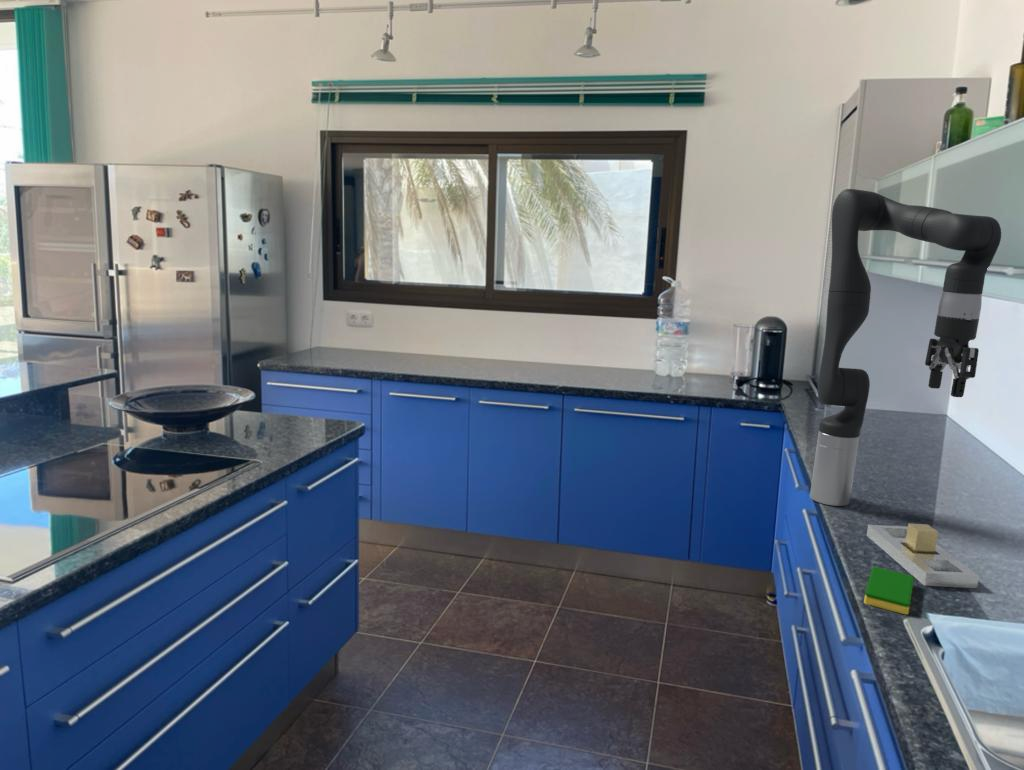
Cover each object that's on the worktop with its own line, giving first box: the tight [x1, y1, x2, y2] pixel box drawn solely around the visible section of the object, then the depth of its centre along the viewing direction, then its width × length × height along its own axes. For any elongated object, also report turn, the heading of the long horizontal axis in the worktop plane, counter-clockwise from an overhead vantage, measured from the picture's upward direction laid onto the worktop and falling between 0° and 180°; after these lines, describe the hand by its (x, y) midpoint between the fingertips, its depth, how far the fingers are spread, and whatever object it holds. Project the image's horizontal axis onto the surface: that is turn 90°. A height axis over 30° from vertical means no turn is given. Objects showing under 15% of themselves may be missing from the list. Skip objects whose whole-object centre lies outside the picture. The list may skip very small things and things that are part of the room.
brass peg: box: [905, 522, 939, 554], centre depth 154 cm, size 4×4×7 cm
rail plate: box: [866, 524, 980, 589], centre depth 155 cm, size 24×10×2 cm, turn 0°
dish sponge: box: [863, 566, 915, 615], centre depth 139 cm, size 7×14×2 cm, turn 150°
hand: (945, 392), depth 159 cm, fingers open, 8 cm apart
